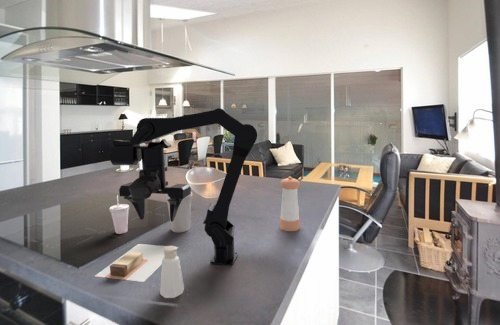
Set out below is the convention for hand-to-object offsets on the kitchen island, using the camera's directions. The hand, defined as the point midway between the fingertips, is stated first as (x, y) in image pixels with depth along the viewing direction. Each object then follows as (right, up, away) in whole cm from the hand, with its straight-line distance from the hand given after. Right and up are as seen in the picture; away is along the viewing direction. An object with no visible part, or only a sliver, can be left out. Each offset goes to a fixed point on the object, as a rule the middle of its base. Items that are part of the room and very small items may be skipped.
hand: (157, 220), depth 76 cm
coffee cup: (+1, -9, +24) cm, 25 cm away
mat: (-5, -12, +1) cm, 13 cm away
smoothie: (-20, -9, +22) cm, 31 cm away
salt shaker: (+41, -8, +25) cm, 48 cm away
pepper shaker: (+8, -14, -13) cm, 21 cm away
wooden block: (-7, -12, -3) cm, 14 cm away
